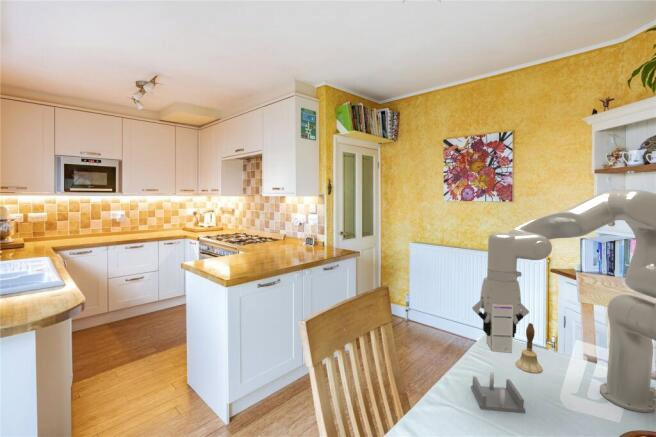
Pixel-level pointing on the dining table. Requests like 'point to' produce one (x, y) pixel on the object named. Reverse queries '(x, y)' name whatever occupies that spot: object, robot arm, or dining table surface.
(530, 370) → the hand bell
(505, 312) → the syrup box
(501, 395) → the grey peg stand
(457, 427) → the dining table surface
